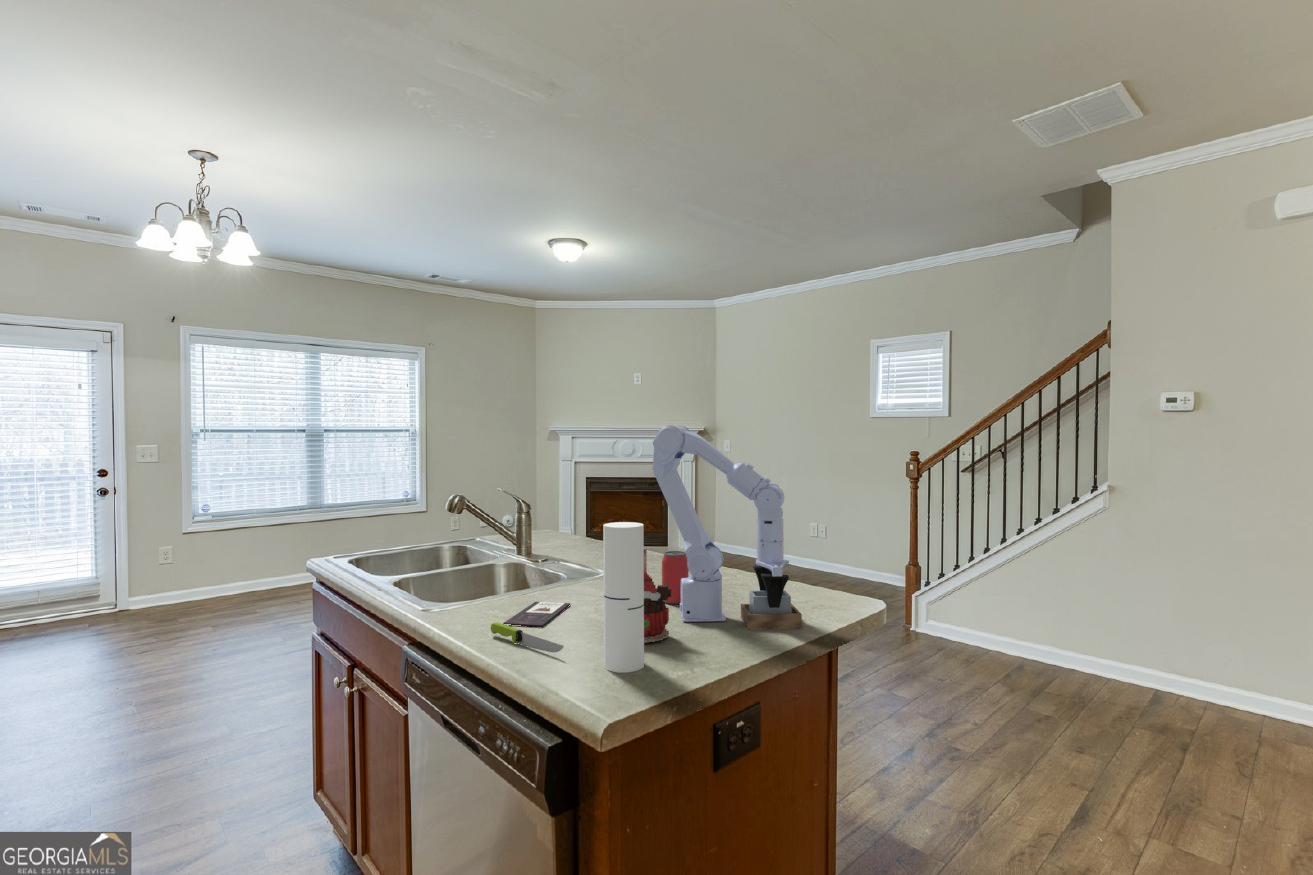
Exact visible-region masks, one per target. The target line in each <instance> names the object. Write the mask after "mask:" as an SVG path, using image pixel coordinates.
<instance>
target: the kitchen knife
mask: <svg viewBox="0 0 1313 875" xmlns="http://www.w3.org/2000/svg"><path fill="white" fill-rule="evenodd" d="M490 632H491V634H493V635H496V634H498V635H500V636H503V637H505V638H506V637H511V643H512V644H513V643H519V644H522V645H524V646H523V647H526V646H528V647H527V648H531V649H535V650H540V651H545V652H549V653H559V652H560V651H562V650H563V649H564V647H565V646H564V645H562V644H559V643H556V642H553V641H550V640H547V639H544V638H541V637H538V636H535V635H532V634H529V633H525V632H524V631H523V630H522V629H518V628H516V627H514V626H507V625H504V624H503V623H500V622H493V623H492V624H490ZM519 644H518V645H519ZM522 645H521V646H522Z"/></svg>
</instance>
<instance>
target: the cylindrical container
mask: <svg viewBox="0 0 1313 875" xmlns="http://www.w3.org/2000/svg"><path fill="white" fill-rule="evenodd" d="M602 526H603V527H602V528H603V536H602V537H603V542H602V543H603V544H602V545H603V547H602V548H603V554H602V555H603V667H604V669H606V670H607V671H609V672H612V673H620V674H621V673H624V674H625V673H632V672H637V671H640V670H642V669H643V668H644V667H645V643H644V549H645V548H644V547H645V544H644V529H645V528H644V526H645V525H644V523H641V522H633V521H632V522H631V521H618V522H616V521H615V522H608V523H603V525H602Z"/></svg>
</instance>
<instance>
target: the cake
mask: <svg viewBox="0 0 1313 875" xmlns="http://www.w3.org/2000/svg"><path fill="white" fill-rule="evenodd" d="M647 550H648V549H647V548H644V644H646V643H647V644H649V643H650V642H651V643H652V642H653V643H655V642H659V641H663V640H664V639H667V638H668V637H669V634H670V633H669V632H670V630H667V628H666V626H667V625H668V623H669V621H670V620H669V618H670V617H669V616H670V615H669V612H670V610H669V608H670V607H667V605H666V603H665V601H663V600H668V597H671V589H668V585H662V584H658V585H657V586H656V584H655V581H653V578H652V577H651V576H650V575H649V574H648V572H647V568H648V566H647V565H648V564H647V559H648V558H647V557H648V556H647V553H648V552H647Z"/></svg>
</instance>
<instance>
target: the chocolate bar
mask: <svg viewBox="0 0 1313 875" xmlns="http://www.w3.org/2000/svg"><path fill="white" fill-rule="evenodd" d="M569 605H570V606H571V602H569V603H567V602H553V601H552V602H550V601H534V602H533V603H530V605H528V606H527V607H525V608H523V609H522V610H521V611H519V612H518V613H516V614H515V615H513V616H512V617H511V618H509V619H507V620H506V621H504V622H503V623H502V624H511V625H521V626H527V627H526V628H537V627H543V628H544V627H545V626H547V625H548V624H550V623H551V622H552V621H553V620H555V618H557V617H558V616H559V615H561V614H562V613H563V612H564V611H565V610H564V609H566V608H567V607H568V606H569ZM570 606H569V607H570ZM569 607H568V608H569ZM568 608H567V609H568ZM567 609H566V610H567ZM563 610H564V611H563ZM562 611H563V612H562ZM561 612H562V613H561ZM560 613H561V614H560ZM557 615H558V616H557ZM556 616H557V617H556ZM547 623H548V624H547ZM546 624H547V625H546Z"/></svg>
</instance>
